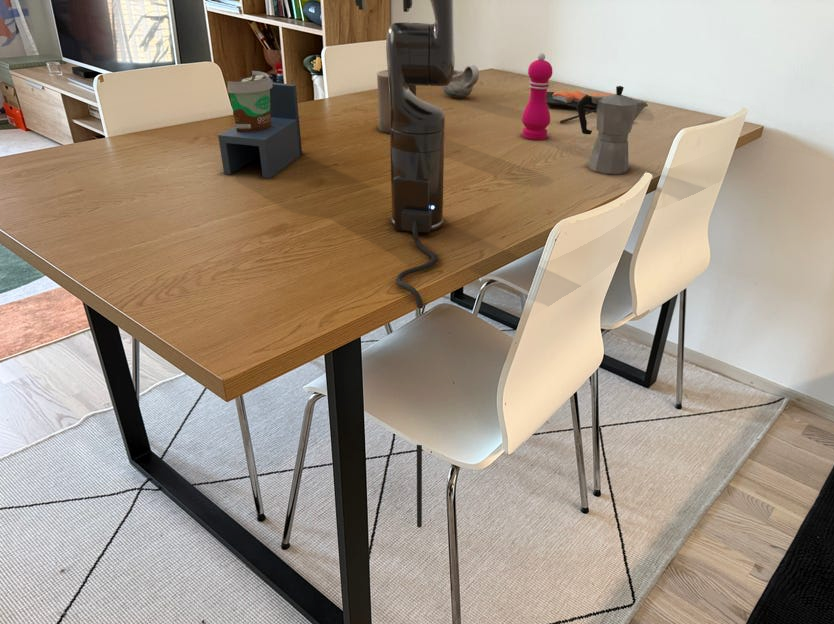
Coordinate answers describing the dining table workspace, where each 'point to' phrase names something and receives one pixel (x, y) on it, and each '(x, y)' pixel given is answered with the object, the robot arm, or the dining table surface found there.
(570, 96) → the sushi plate
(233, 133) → the blue toy chair
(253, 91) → the food container
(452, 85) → the grey curved hollow piece
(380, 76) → the pillar candle
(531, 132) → the pepper mill
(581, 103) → the coffeepot
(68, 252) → the dining table surface
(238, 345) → the dining table surface
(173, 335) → the dining table surface
